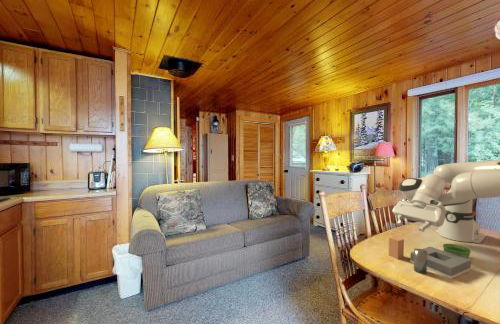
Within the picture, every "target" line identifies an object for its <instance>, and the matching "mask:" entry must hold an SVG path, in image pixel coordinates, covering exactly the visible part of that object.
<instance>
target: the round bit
mask: <svg viewBox="0 0 500 324" xmlns="http://www.w3.org/2000/svg"><path fill="white" fill-rule="evenodd" d="M423 249H424V248H414V250H413V252H414V264H413V271H414V272H416V273H417V274H422V275H427V274H428V269H427V251H425V250H423Z"/></svg>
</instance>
